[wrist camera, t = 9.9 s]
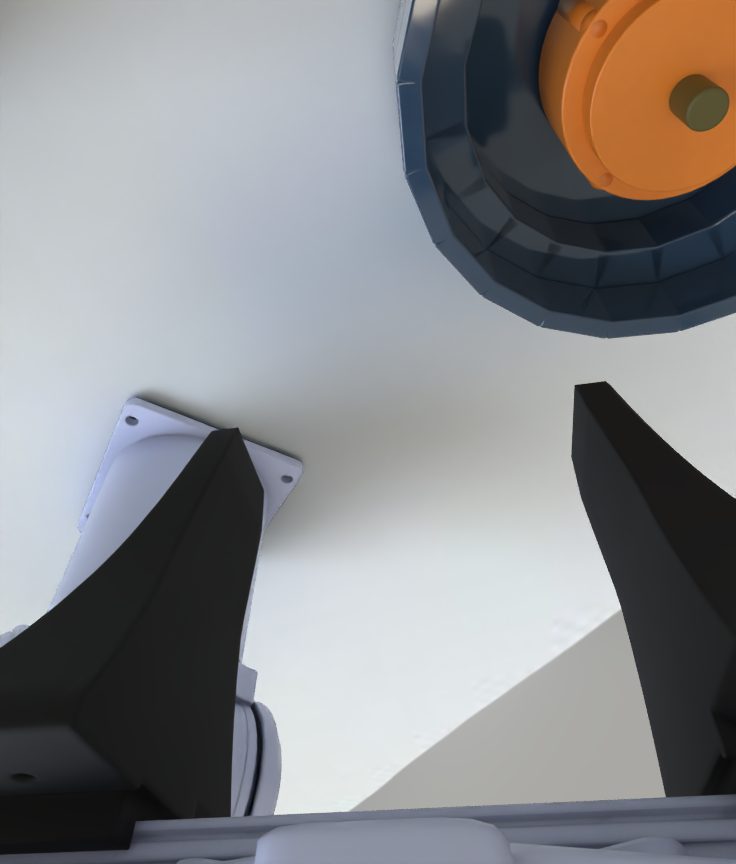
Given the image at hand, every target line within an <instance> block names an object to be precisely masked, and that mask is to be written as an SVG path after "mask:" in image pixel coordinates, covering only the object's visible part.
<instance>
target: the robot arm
mask: <svg viewBox="0 0 736 864" xmlns="http://www.w3.org/2000/svg"><path fill="white" fill-rule="evenodd" d="M129 416H133V417H135V418H137V420H135V419H132V418H130V417H129ZM571 456H572V461H573V465H574V470H575V474H576V478H577V482H578V487H579V491H580V495H581V499H582V501H583V504H584V507H585V510H586V512H587V515H588V518H589V520H590V523H591V526H592V529H593V531H594V534H595V537H596V539H597V542H598V544H599V547H600V550H601V552H602V555H603V558H604V560H605V563H606V566H607V568H608V571H609V574H610V576H611V579H612V582H613V584H614V587H615V590H616V593H617V596H618V599H619V602H620V605H621V608H622V612H623V616H624V620H625V623H626V627H627V631H628V635H629V639H630V643H631V646H632V650H633V654H634V658H635V662H636V667H637V671H638V674H639V679H640V683H641V687H642V691H643V695H644V699H645V704H646V708H647V713H648V717H649V721H650V726H651V730H652V735H653V739H654V743H655V748H656V752H657V757H658V762H659V767H660V771H661V776H662V780H663V785H664V790H665V795H666V797H665V798H644V799H621V800H600V801H599V800H598V801H576V802H554V803H533V804H512V805H511V804H510V805H489V806H488V805H487V806H467V807H466V806H465V807H443V808H421V809H398V810H376V811H355V812H332V813H310V814H287V815H274V811H275V807H276V803H277V798H278V793H279V787H280V779H281V747H280V741H279V738H278V733H277V728H276V723H275V721H274V718H273V715H272V713H271V712H270V710H269V709H268V708H267V707H266V706H265V705H263V704H262V703H260V702H256V701H253V700H254V693H255V686H256V679H257V671H255V670H253V669H251V668H248V667H246V666H245V665H243V664H241V663H242V657H243V651H244V645H245V639H246V633H247V627H248V621H249V616H250V610H251V604H252V598H253V592H254V586H255V580H256V574H257V568H258V562H259V556H260V550H261V544H262V538H263V532H264V529H265V528H266V526H267V525H268V523H269V522H270V521H271V519H272V518H273V516H274V515H275V513H276V512H277V510H278V509H279V508H280V506H281V505H282V503H283V502H284V500H285V499H286V497H287V496H288V495H289V493H290V492H291V490H292V489H293V487H294V486H295V485H296V483H297V482H298V480H299V479H300V477H301V476H302V473H303V465H302V463H301V462H300V461H298V460H296V459H293V458H291V457H288V456H286V455H283V454H280V453H278V452H275V451H273V450H270V449H268V448H265V447H262V446H260V445H257V444H255V443H252V442H249V441H247V440H244V439H243V438H242V436H241V433H240V431H239V429H238V428H230V429H222V430H219V429H216V428H213V427H211V426H208V425H206V424H203V423H201V422H198V421H195V420H193V419H190V418H188V417H185V416H183V415H180V414H177V413H175V412H172V411H170V410H167V409H165V408H162V407H159V406H157V405H154V404H152V403H149V402H147V401H144V400H141V399H138V398H131V399H129V400H127V401H126V403H125V405H124V407H123V410H122V412H121V415H120V417H119V420H118V422H117V425H116V428H115V430H114V433H113V435H112V438H111V440H110V443H109V446H108V448H107V451H106V453H105V456H104V458H103V461H102V464H101V466H100V469H99V471H98V474H97V476H96V479H95V481H94V484H93V487H92V489H91V492H90V494H89V497H88V499H87V502H86V505H85V507H84V510H83V512H82V515H81V517H80V520H79V523H78V525H77V528H78V530H79V531H80V532H81V535H80V538H79V540H78V542H77V545H76V547H75V549H74V552H73V554H72V556H71V558H70V561H69V563H68V565H67V568H66V570H65V572H64V574H63V577H62V579H61V581H60V584H59V586H58V588H57V590H56V593H55V595H54V597H53V600H52V602H51V604H50V607H49V609H48V611H47V613H46V614H45V615H44V616H42V617H41V618H40V619H38V620H37V621H36V622H35V623H33V624H32V625H31V626H27V625H19V626H17V627H15V628H14V629H13V631H12V632H11V631H9V632H7V633H4V634H2V635H0V864H736V499H735V498H734V497H732V496H731V495H729V494H728V493H727V492H725V491H724V490H723V489H721V488H720V487H719V486H717V485H716V484H715V483H713V482H712V481H711V480H710V479H708V478H707V477H706V476H705V475H703V474H702V473H701V472H700V471H699V470H697V469H696V468H695V467H694V466H692V465H691V464H690V463H689V462H688V461H687V460H685V459H684V458H683V457H682V456H681V455H680V454H679V453H677V452H676V451H675V450H674V449H673V448H672V447H671V446H670V445H669V444H668V443H667V442H666V441H664V440H663V439H662V438H661V437H660V436H659V435H658V434H657V433H656V432H655V431H654V430H653V429H652V428H651V427H650V426H649V425H648V424H647V423H646V422H645V421H644V420H643V419H642V418H641V417H640V416H639V415H638V414H637V413H636V412H635V411H634V410H633V409H632V408H631V407H630V406H629V405H628V404H627V403H626V402H625V401H624V400H623V398H622V397H621V396H620V395H619V394H618V393H617V392H616V391H615V390H614V389H613V387H612V386H611V385H610V384H608V383H607V382H606V381H604V382H596V383H588V384H580V385H575V389H574V411H573V433H572V455H571ZM284 475H289V476H291V477H285V476H284Z"/></svg>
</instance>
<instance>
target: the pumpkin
mask: <svg viewBox="0 0 736 864" xmlns="http://www.w3.org/2000/svg"><path fill="white" fill-rule="evenodd" d="M539 92H540V97H541V103H542V106H543V109H544V112H545V115H546V117H547V119H548V121H549V123H550V125H551V127H552V129H553V130H554V132H555V133H556V135H557V136H558V138H559V140H560V141H561V143H562V144H563V146H564V147H565V149H566V151H567V152H568V154H569V155H570V157H571V158H572V160H573V161H574V163H575V164H576V166H577V167H578V169H579V170H580V171H581V173H582V174H583V175H584V176H585V177H586V178H587V180H588V181H589V183H590V184H591V186H592V187H594V188H595V189H598V190H604V191H606V192H608V193H611V194H613V195H616V196H619V197H623V198H628V199H633V200H657V199H665V198H670V197H675V196H679V195H682V194H685V193H688V192H691V191H693V190H695V189H698V188H700V187H702V186H705V185H706V184H708V183H710V182H712V181H714V180H715V179H717V178H719V177H720V176H722V175H723V174H725V173H726V172H728V171H729V170H730V169H732V168H733V167H734V166H736V0H560V2H559V4H558V9H557V11H556V13H555V14H554V16H553V19H552V21H551V23H550V26H549V28H548V30H547V33H546V37H545V40H544V43H543V46H542V51H541V57H540V63H539Z"/></svg>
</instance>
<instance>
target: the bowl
mask: <svg viewBox="0 0 736 864" xmlns="http://www.w3.org/2000/svg"><path fill="white" fill-rule="evenodd" d="M559 2H560V0H401V3H400V9H399V14H398V19H397V24H396V30H395V35H394V40H393V44H394V46H393V53H394V66H395V78H396V90H397V102H398V114H399V125H400V137H401V148H402V160H403V171H404V172H405V178H406V180H407V182H408V185H409V187H410V189H411V192H412V194H413V197H414V199H415V201H416V204H417V206H418V208H419V211H420V213H421V215H422V218H423V220H424V222H425V225H426V227H427V229H428V232H429V234H430V237H431V239H432V241H433V243H434V244H435V246H436V248H437V249H438V250H439V251H440V252H441V253H442V254H443V255H444V256H445V257H446V258H447V260H448V261H449V262H450V263H451V264H452V265H453V266H454V267H455V268H456V269H457V270H458V272H459V273H460V274H461V275H462V276H463V277H464V278H465V279H466V280H467V281H468V282H469V283H470V285H471V286H472V287H473V288H474V289H475V290H476V291H477V292H478V293H479V294H480V295H482V297H484V298H486V299H488V300H490V301H491V302H493V303H495V304H497V305H499V306H501V307H503V308H505V309H507V310H508V311H510V312H512V313H514V314H516V315H518V316H520V317H522V318H524V319H526V320H527V321H529V322H531V323H533V324H535V325H537V326H541V327H543V328H549V329H554V330H560V331H566V332H571V333H577V334H583V335H588V336H594V337H600V338H606V337H607V338H619V337H630V336H641V335H651V334H662V333H672V332H678V331H683V330H686V329H689V328H692V327H695V326H698V325H701V324H704V323H707V322H710V321H713V320H716V319H719V318H721V317H724V316H727V315H730V314H733V313H736V166H734V167H733V168H732V169H730V170H729V171H728V172H726V173H725V174H723V175H722V176H720V177H719V178H717V179H715V180H714V181H712V182H710V183H708V184H706V185H705V186H702V187H700V188H698V189H695V190H693V191H691V192H688V193H685V194H682V195H679V196H675V197H670V198H665V199H657V200H633V199H628V198H623V197H619V196H616V195H613V194H611V193H608V192H606V191H604V190H598V189H595V188H594V187H592V186H591V184H590V183H589V181H588V180H587V178H586V177H585V176H584V175H583V174H582V173H581V171H580V170H579V169H578V167H577V166H576V164H575V163H574V161H573V160H572V158H571V157H570V155H569V154H568V152H567V151H566V149H565V147H564V146H563V144H562V143H561V141H560V140H559V138H558V136H557V135H556V133H555V132H554V130H553V129H552V127H551V125H550V123H549V121H548V119H547V117H546V115H545V112H544V109H543V106H542V103H541V97H540V92H539V63H540V57H541V51H542V46H543V43H544V40H545V37H546V33H547V30H548V28H549V26H550V23H551V21H552V19H553V16H554V14H555V13H556V11H557V9H558V4H559Z"/></svg>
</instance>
